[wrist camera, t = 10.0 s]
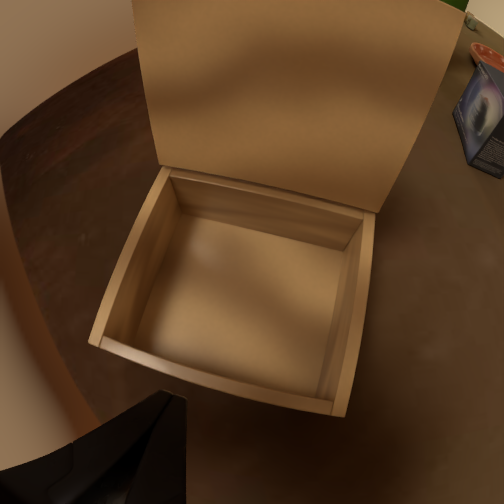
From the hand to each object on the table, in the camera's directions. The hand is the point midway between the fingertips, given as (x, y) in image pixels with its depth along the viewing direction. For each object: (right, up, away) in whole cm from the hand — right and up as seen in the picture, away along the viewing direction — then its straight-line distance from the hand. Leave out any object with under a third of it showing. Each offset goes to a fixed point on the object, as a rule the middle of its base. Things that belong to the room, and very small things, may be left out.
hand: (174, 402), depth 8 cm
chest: (+2, +1, +14) cm, 14 cm away
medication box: (+74, +79, +50) cm, 119 cm away
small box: (+32, +19, +23) cm, 44 cm away
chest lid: (+3, +12, +5) cm, 13 cm away
